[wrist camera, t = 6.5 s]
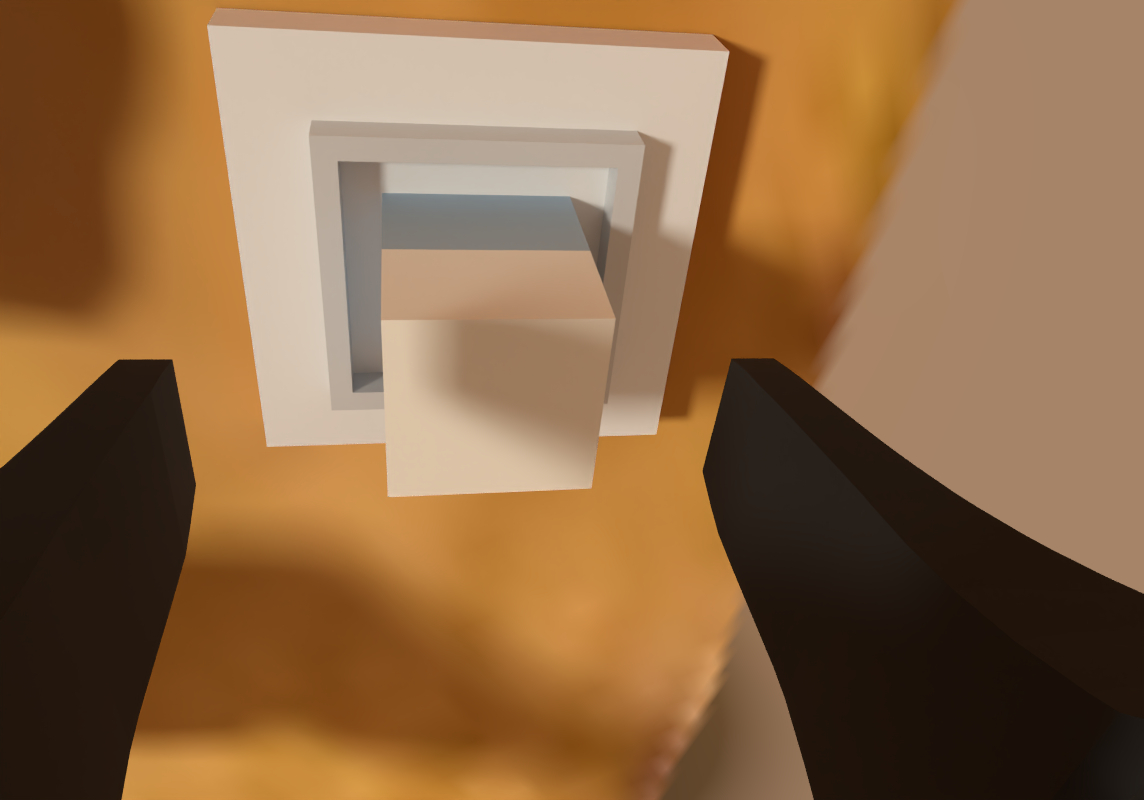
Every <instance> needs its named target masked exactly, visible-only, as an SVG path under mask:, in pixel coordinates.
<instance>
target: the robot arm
mask: <svg viewBox="0 0 1144 800" xmlns="http://www.w3.org/2000/svg"><path fill="white" fill-rule="evenodd" d="M703 475H704V479H705V483H706V488H707V492H708V496H709V500H710V504H711V508H712V512H713V515H714V519H715V523H716V526H717V530H718V534H719V536H720V539H721V541H722V544H723V546H724V549H725V551H726V554H727V556H728V559H729V561H730V564H731V566H732V569H733V571H734V574H735V576H736V578H737V581H738V583H739V586H740V588H741V590H742V593H743V595H744V598H745V600H746V602H747V605H748V607H749V610H750V612H751V614H752V617H753V619H754V621H755V624H756V626H757V628H758V631H759V633H760V636H761V638H762V641H763V643H764V645H765V648H766V650H767V653H768V655H769V657H770V660H771V662H772V665H773V666H774V670H775V672H776V675H777V678H778V681H779V683H780V686H781V689H782V691H783V694H784V697H785V700H786V703H787V707H788V710H789V713H790V717H791V720H792V724H793V727H794V730H795V733H796V737H797V741H798V744H799V747H800V751H801V754H802V758H803V761H804V764H805V768H806V772H807V776H808V779H809V783H810V786H811V791H812V794H813V798H814V800H1144V594H1142V593H1141V592H1138V591H1136V590H1134V589H1132V588H1130V587H1127V586H1125V585H1123V584H1121V583H1119V582H1116V581H1114V580H1112V579H1110V578H1108V577H1105V576H1103V575H1101V574H1099V573H1097V572H1095V571H1093V570H1091V569H1089V568H1087V567H1085V566H1083V565H1081V564H1079V563H1077V562H1075V561H1073V560H1071V559H1069V558H1067V557H1065V556H1063V555H1061V554H1059V553H1057V552H1055V551H1053V550H1051V549H1050V548H1048V547H1046V546H1044V545H1042V544H1040V543H1038V542H1037V541H1035V540H1033V539H1031V538H1029V537H1027V536H1026V535H1024V534H1022V533H1020V532H1018V531H1017V530H1015V529H1013V528H1012V527H1010V526H1008V525H1007V524H1005V523H1003V522H1002V521H1000V520H998V519H996V518H995V517H993V516H991V515H990V514H988V513H986V512H985V511H983V510H981V509H980V508H978V507H976V506H975V505H973V504H971V503H970V502H968V501H967V500H965V499H963V498H962V497H960V496H959V495H957V494H956V493H954V492H953V491H951V490H950V489H948V488H947V487H945V486H944V485H942V484H941V483H939V482H938V481H937V480H935V479H934V478H932V477H931V476H929V475H928V474H926V473H925V472H924V471H922V470H921V469H919V468H917V467H916V466H915V465H913V464H912V463H911V462H909V461H908V460H907V459H905V458H904V457H902V456H901V455H899V454H898V453H897V452H896V451H894V450H893V449H891V448H890V447H889V446H887V445H886V444H884V443H883V442H882V441H881V440H879V439H878V438H877V437H876V436H874V435H873V434H872V433H870V432H869V431H868V430H866V429H865V428H864V427H863V426H861V425H860V424H859V423H857V422H856V421H855V420H854V419H852V418H851V417H850V416H848V415H847V414H846V413H844V412H843V411H842V410H841V409H840V408H838V407H837V406H836V405H834V404H833V403H832V402H831V401H829V400H828V399H827V398H826V397H824V396H823V395H822V394H821V393H819V392H818V391H817V390H816V389H814V388H813V387H812V386H810V385H809V384H808V383H807V382H805V381H804V380H803V379H801V378H800V377H799V376H797V375H796V374H795V373H793V372H792V371H791V370H789V369H788V368H787V367H785V366H784V365H782V364H781V363H779V362H778V361H776V360H775V359H731V363H730V367H729V371H728V375H727V378H726V382H725V386H724V390H723V394H722V398H721V402H720V405H719V409H718V413H717V417H716V421H715V425H714V429H713V433H712V436H711V440H710V444H709V448H708V452H707V456H706V460H705V464H704V467H703ZM195 487H196V483H195V478H194V472H193V467H192V462H191V456H190V451H189V446H188V441H187V435H186V430H185V425H184V419H183V414H182V409H181V403H180V398H179V393H178V388H177V382H176V377H175V372H174V366H173V361H172V360H118V361H117V362H115V363H114V364H113V365H112V366H111V367H110V368H109V369H108V370H107V371H106V372H104V373H103V374H102V375H101V376H100V377H99V378H98V379H97V380H96V381H95V382H94V383H93V384H92V385H90V386H89V387H88V388H87V389H86V390H85V391H84V392H83V393H82V394H81V395H80V396H79V397H78V398H77V399H76V400H75V401H74V402H73V403H71V404H70V405H69V406H68V407H67V408H66V409H65V410H64V411H63V412H62V413H61V414H60V415H59V416H58V417H57V418H56V419H55V420H53V421H52V422H51V423H50V424H49V425H48V426H47V427H46V428H45V429H44V430H43V431H42V432H41V433H39V434H38V435H37V436H36V437H35V438H34V439H33V440H32V441H31V442H29V443H28V444H27V445H26V446H25V447H24V448H23V449H22V450H21V451H20V452H18V453H17V454H16V455H15V456H14V457H13V458H12V459H11V460H10V461H8V462H7V463H6V464H5V465H4V466H3V467H2V468H0V800H121V799H122V793H123V788H124V782H125V776H126V771H127V765H128V760H129V754H130V749H131V745H132V741H133V737H134V733H135V729H136V725H137V721H138V717H139V713H140V709H141V706H142V703H143V699H144V696H145V692H146V689H147V686H148V682H149V679H150V675H151V672H152V669H153V665H154V662H155V659H156V655H157V652H158V648H159V645H160V642H161V638H162V635H163V632H164V628H165V625H166V621H167V618H168V615H169V611H170V608H171V604H172V601H173V597H174V594H175V591H176V587H177V584H178V580H179V577H180V573H181V570H182V566H183V562H184V559H185V555H186V549H187V543H188V536H189V530H190V524H191V516H192V509H193V502H194V495H195Z"/></svg>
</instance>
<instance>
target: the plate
mask: <svg viewBox="0 0 1144 800" xmlns="http://www.w3.org/2000/svg"><path fill="white" fill-rule="evenodd" d="M207 27H208V34H209V41H210V48H211V55H212V63H213V70H214V77H215V84H216V91H217V98H218V105H219V112H220V119H221V126H222V133H223V140H224V147H225V154H226V161H227V168H228V175H229V182H230V189H231V196H232V203H233V210H234V217H235V224H236V231H237V238H238V245H239V252H240V260H241V267H242V274H243V281H244V288H245V295H246V302H247V309H248V316H249V323H250V330H251V337H252V344H253V351H254V358H255V365H256V372H257V379H258V386H259V393H260V400H261V407H262V414H263V421H264V428H265V435H266V442H267V447H274V446H306V445H337V444H369V443H386V436H385V410H384V385H383V360H382V335H381V257H382V193H414V194H468V195H522V196H570V198H571V201H572V203H573V206H574V209H575V211H576V214H577V217H578V219H579V222H580V225H581V227H582V230H583V233H584V235H585V238H586V241H587V243H588V246H589V249H590V251H591V254H592V257H593V259H594V262H595V265H596V267H597V270H598V273H599V275H600V278H601V281H602V283H603V286H604V289H605V291H606V294H607V297H608V299H609V302H610V305H611V307H612V310H613V313H614V315H615V318H616V320H615V327H614V334H613V341H612V348H611V355H610V362H609V369H608V376H607V383H606V390H605V397H604V404H603V411H602V418H601V425H600V432H599V436H622V435H653V434H656V433H657V427H658V422H659V417H660V412H661V406H662V401H663V396H664V391H665V386H666V380H667V375H668V370H669V365H670V359H671V354H672V349H673V344H674V339H675V333H676V328H677V323H678V318H679V312H680V307H681V302H682V297H683V292H684V286H685V281H686V276H687V271H688V265H689V260H690V255H691V250H692V245H693V239H694V234H695V229H696V224H697V218H698V213H699V208H700V203H701V198H702V192H703V187H704V182H705V177H706V172H707V166H708V161H709V156H710V151H711V145H712V140H713V135H714V130H715V125H716V119H717V114H718V109H719V104H720V98H721V93H722V88H723V83H724V78H725V72H726V67H727V62H728V57H729V51H728V50H727V49H726V48H725V47H724V46H723V45H722V44H721V42H720V41H719V40H718V39H717V38H716V37H715V36H714V35H710V34H692V33H673V32H655V31H636V30H617V29H599V28H580V27H562V26H543V25H525V24H506V23H488V22H469V21H451V20H432V19H413V18H395V17H376V16H358V15H339V14H321V13H302V12H284V11H265V10H246V9H228V8H217V9H216V10H215V12H214V14H213V16H212V18H211V19H210V21H209V23H208V25H207Z"/></svg>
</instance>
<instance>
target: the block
mask: <svg viewBox="0 0 1144 800" xmlns="http://www.w3.org/2000/svg"><path fill="white" fill-rule="evenodd" d="M615 320H616V318H615V315H614V313H613V310H612V307H611V305H610V302H609V299H608V297H607V294H606V291H605V289H604V286H603V283H602V281H601V278H600V275H599V273H598V270H597V267H596V265H595V262H594V259H593V257H592V254H591V251H590V249H589V246H588V243H587V241H586V238H585V235H584V233H583V230H582V227H581V225H580V222H579V219H578V217H577V214H576V211H575V209H574V206H573V203H572V201H571V198H570V196H522V195H468V194H414V193H382V257H381V335H382V360H383V385H384V410H385V436H386V461H387V486H388V497H403V496H426V495H450V494H473V493H497V492H520V491H544V490H567V489H591V488H592V481H593V474H594V467H595V460H596V453H597V446H598V439H599V432H600V425H601V418H602V411H603V404H604V397H605V390H606V383H607V376H608V369H609V362H610V355H611V348H612V341H613V334H614V327H615Z"/></svg>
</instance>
